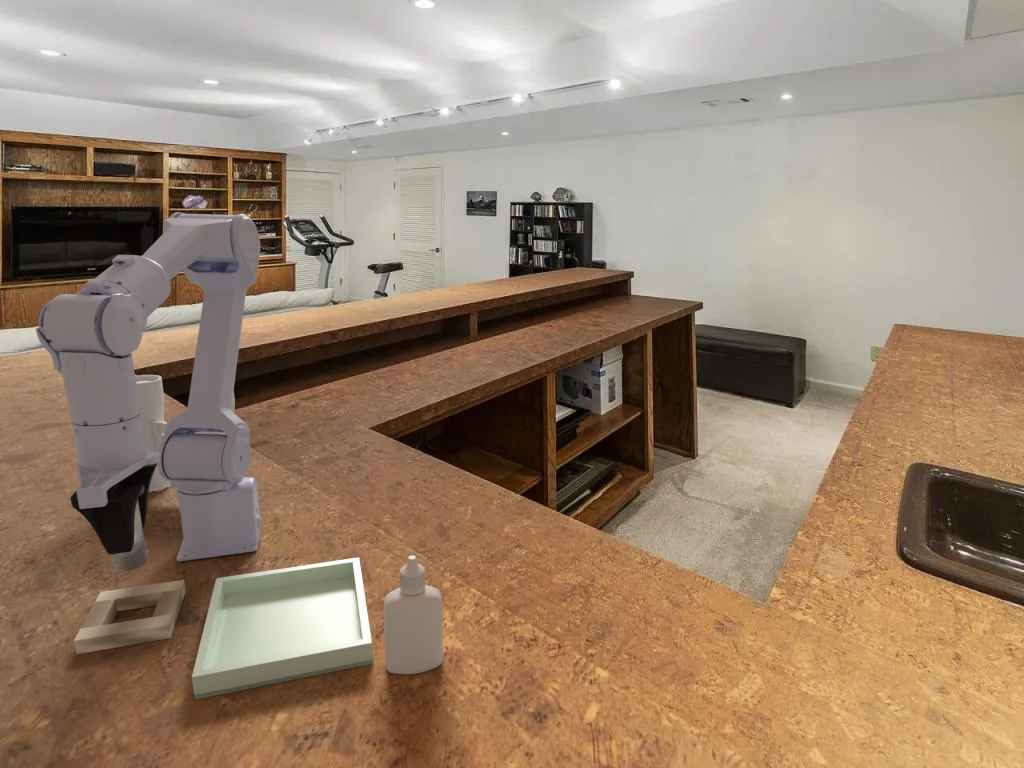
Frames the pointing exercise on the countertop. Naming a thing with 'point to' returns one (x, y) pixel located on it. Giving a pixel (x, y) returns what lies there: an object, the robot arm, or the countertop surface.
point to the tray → (283, 627)
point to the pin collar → (106, 635)
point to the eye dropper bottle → (413, 623)
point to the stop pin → (138, 551)
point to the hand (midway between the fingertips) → (127, 539)
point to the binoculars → (156, 420)
